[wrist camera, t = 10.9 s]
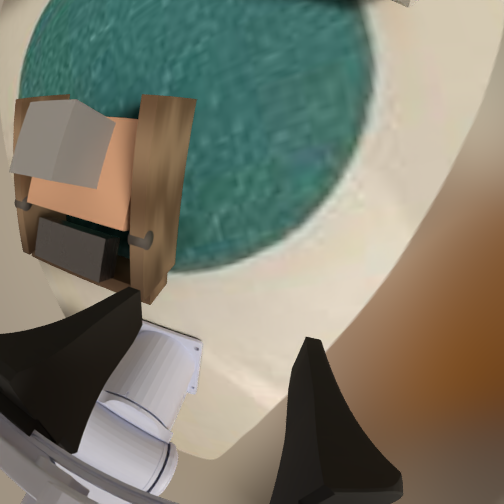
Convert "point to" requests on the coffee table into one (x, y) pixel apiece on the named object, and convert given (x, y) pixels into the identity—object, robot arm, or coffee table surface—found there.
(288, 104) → the coffee table surface
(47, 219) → the trapdoor
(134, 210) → the frame
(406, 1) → the die
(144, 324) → the robot arm
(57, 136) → the stone
